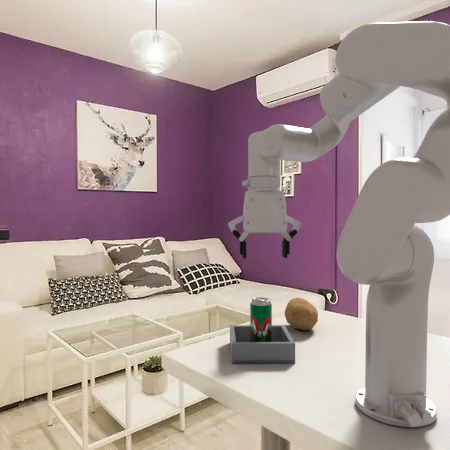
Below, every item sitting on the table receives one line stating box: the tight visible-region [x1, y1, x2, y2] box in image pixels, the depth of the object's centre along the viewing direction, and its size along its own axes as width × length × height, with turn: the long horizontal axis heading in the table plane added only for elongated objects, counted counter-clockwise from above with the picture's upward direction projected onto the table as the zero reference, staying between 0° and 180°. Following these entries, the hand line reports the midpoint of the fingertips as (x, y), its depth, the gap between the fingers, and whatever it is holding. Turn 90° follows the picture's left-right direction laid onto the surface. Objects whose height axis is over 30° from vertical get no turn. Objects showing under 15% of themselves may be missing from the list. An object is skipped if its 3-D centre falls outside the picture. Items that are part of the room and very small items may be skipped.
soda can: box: [249, 296, 273, 342], centre depth 93 cm, size 5×5×12 cm
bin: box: [229, 324, 296, 365], centre depth 93 cm, size 14×14×4 cm
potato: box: [284, 297, 319, 331], centre depth 112 cm, size 10×14×8 cm
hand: (264, 257), depth 93 cm, fingers open, 9 cm apart
